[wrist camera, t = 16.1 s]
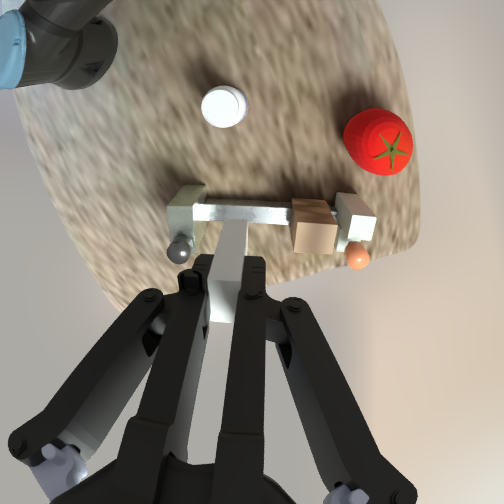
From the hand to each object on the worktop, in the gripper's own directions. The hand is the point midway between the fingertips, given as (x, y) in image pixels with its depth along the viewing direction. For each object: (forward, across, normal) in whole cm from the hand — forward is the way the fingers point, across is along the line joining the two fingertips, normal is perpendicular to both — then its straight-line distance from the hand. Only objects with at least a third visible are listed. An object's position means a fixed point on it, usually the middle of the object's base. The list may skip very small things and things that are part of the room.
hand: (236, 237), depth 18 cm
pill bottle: (+30, -4, +8) cm, 31 cm away
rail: (+29, +1, -10) cm, 31 cm away
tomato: (+30, +19, +5) cm, 36 cm away
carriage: (+29, +10, -10) cm, 33 cm away
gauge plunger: (+22, +17, -12) cm, 31 cm away
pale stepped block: (+29, +17, -10) cm, 35 cm away
